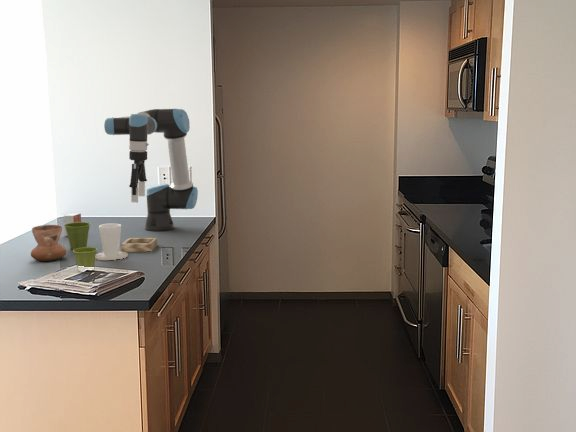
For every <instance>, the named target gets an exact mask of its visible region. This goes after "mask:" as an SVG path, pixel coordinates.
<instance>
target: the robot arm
mask: <svg viewBox="0 0 576 432" xmlns="http://www.w3.org/2000/svg"><path fill="white" fill-rule="evenodd" d="M103 125H104V132H105V133H106V134H107V135H109V136H110V135H111V136H121V135H124V136H125V135H127V136H128V135H129V136H128V137H129V138H128V139H129V141H128V148H129V154H128V155H129V158H128V159H129V160H130V161H133V163H131V173H130V184H129V185H128V186H129V187H128V188H131V189H130V190H131V191H130V192H131V193H130V194H131V196H130V197H131V199H130V202H131V203H139V197H146V205H147V206H146V209H147V215H146V219H145V222H144V229H145V230H146V231H152V232H153V231H156V232H157V231H159V232H161V231H168V230H172V229H174V228H175V224H174V221H173V217H172V215H171V210H192V209H194V208H195V207H196V205H197V202H198V195H199V193H198V192H199V191H198V187H196V186H194V183H193V182H192V181H191V180H190V174H189V166H188V165H189V163H188V158H187V157H188V156H187V150H186V143H185V142H186V141H185V138H186V137H187V135H188V134H187V133H189V131H190V129H191V127H190V118H189V115H188V113H187V112H186V111H185V109H182V108H161V109H160V108H154V109H148V110H145V111H140V112H137V113H132V114H130V115H128V116H127V115H125V116H121V117H106V119H104V124H103ZM153 133H158V134H159V133H160V134H161V133H162V134H163V138H164V139H166V141H167V147H168V148H167V149H168V155H169V161H170V162H169V163H170V169H171V171H170V172H171V177H172V178H171V179H172V183H170V184H169V183H163V184H156V185H150V186H148V187H147V188H146V182H147V181H148V179H147V177H146V176H147V174H146V165H145V161H147V160H148V151H147V150H148V146H149V145H150V144H149V143H148V135H152V134H153Z"/></svg>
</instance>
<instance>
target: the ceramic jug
mask: <svg viewBox="0 0 576 432" xmlns="http://www.w3.org/2000/svg"><path fill="white" fill-rule="evenodd" d="M62 230H63V227H62V226H61V225H58V224H44V225H36V226H33V227H32V228H31V232H32V235H33V237H34V240H35V241H36V244H37V245H36V246H35V247H34V248H32V250H31V252H30V255H31V256H30V257H31V258H32V259H33V260H36V261H37V262H38V261H39V262H53V261H56V260H59V259H62V258H64V256H66V255H67V248H66V247H64V246H63V245H62V244H59V241H60V239H61V235H62V232H63V231H62Z"/></svg>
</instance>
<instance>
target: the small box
mask: <svg viewBox="0 0 576 432" xmlns="http://www.w3.org/2000/svg"><path fill="white" fill-rule="evenodd" d="M62 217H63V230H64V236H65V237H68V235H67V231H66V228H65V226H64V225H65V224H68V223H75V222H82V214H81V213H78V212H75V213H74V212H73V213H72V212H71V213H68V214H66V215H65V214H64V215H63V216H62Z"/></svg>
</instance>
